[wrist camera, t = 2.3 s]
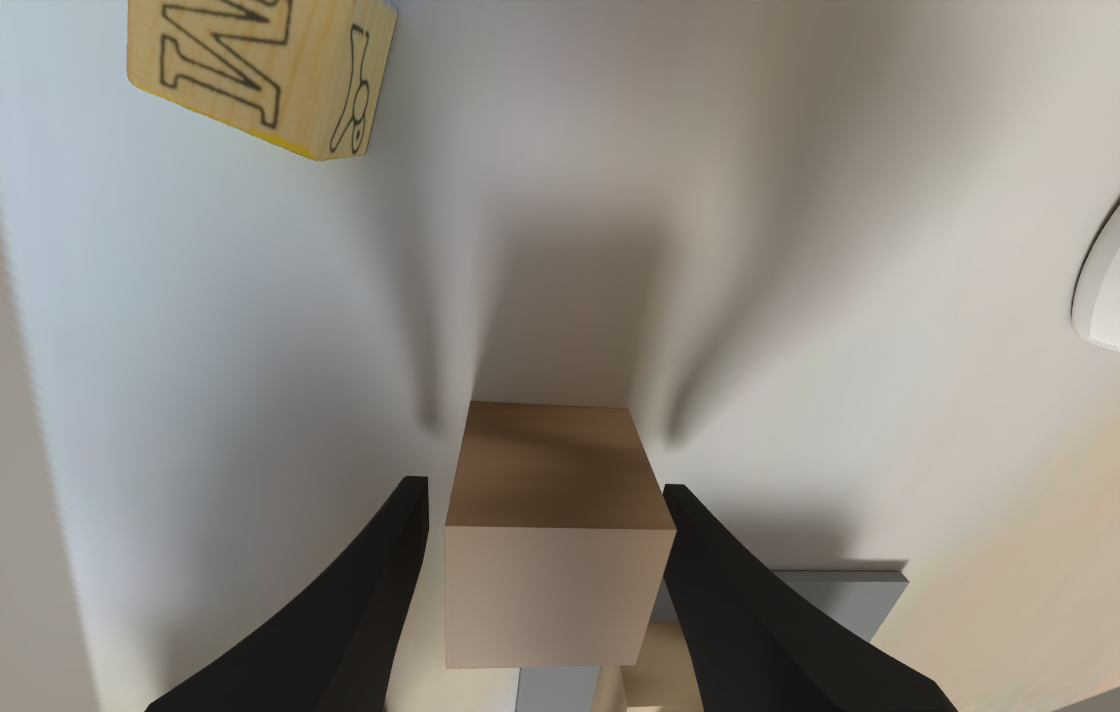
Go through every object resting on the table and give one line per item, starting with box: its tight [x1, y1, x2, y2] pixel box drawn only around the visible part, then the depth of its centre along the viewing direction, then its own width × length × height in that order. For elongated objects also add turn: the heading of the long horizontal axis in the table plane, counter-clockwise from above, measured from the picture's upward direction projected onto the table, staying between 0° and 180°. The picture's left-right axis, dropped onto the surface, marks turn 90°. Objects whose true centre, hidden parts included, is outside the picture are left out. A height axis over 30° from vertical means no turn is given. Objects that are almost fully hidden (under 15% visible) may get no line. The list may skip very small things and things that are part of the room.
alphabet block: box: [127, 0, 398, 161], centre depth 8 cm, size 3×3×3 cm
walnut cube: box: [445, 401, 677, 669], centre depth 12 cm, size 5×5×5 cm
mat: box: [515, 571, 909, 712], centre depth 20 cm, size 16×14×1 cm
